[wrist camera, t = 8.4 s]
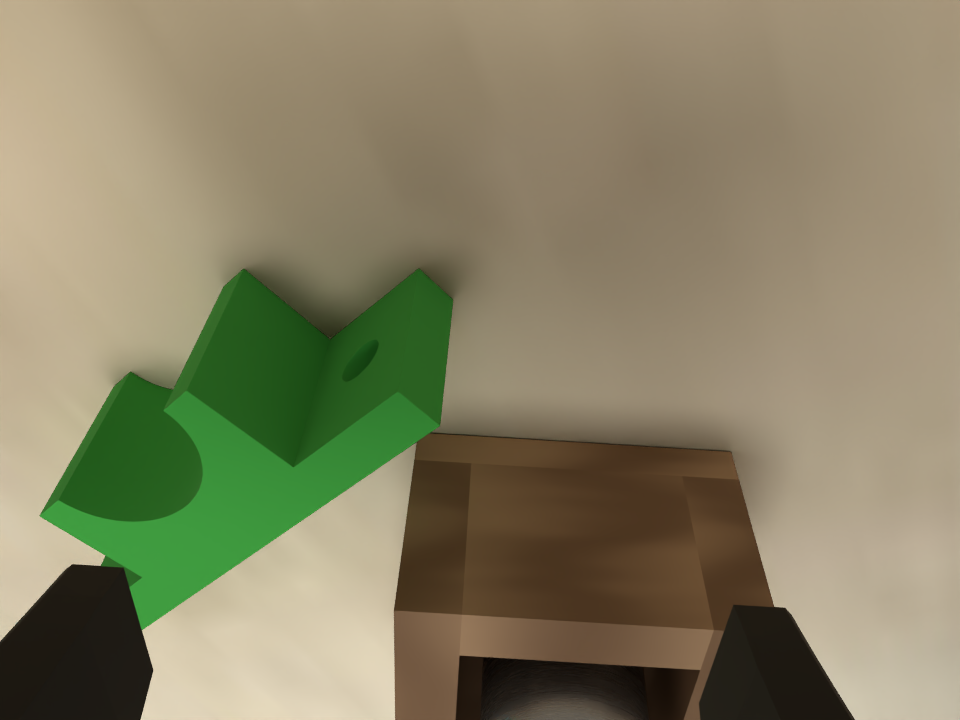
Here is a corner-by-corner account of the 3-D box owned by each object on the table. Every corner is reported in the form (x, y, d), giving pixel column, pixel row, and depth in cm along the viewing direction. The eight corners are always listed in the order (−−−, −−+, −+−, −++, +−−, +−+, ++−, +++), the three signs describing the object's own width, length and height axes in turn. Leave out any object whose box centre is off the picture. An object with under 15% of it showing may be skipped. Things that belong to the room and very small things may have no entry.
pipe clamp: (333, 182, 19) (291, 300, 15) (454, 293, 21) (442, 425, 17) (50, 442, 24) (-34, 580, 20) (167, 516, 25) (109, 657, 22)
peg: (636, 534, 23) (678, 856, 17) (627, 629, 26) (661, 941, 19) (483, 534, 23) (467, 851, 17) (488, 627, 26) (477, 936, 20)
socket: (730, 451, 23) (781, 634, 18) (674, 642, 28) (703, 822, 23) (418, 432, 23) (393, 610, 18) (415, 626, 28) (396, 804, 23)
